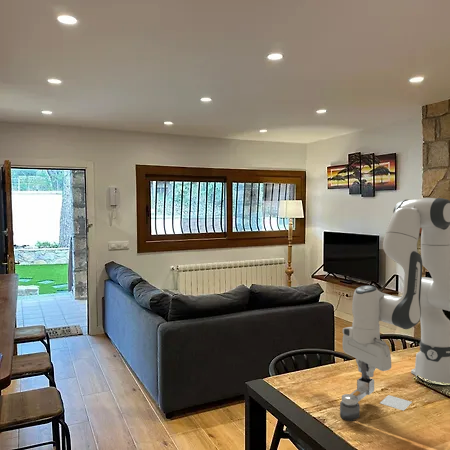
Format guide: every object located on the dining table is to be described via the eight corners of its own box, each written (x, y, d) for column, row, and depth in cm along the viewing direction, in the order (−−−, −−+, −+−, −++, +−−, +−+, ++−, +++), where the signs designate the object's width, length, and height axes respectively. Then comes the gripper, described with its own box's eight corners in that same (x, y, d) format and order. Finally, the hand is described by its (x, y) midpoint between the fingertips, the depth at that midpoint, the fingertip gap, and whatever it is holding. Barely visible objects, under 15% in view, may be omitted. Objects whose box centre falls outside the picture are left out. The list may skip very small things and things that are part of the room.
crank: (353, 409, 129) (353, 396, 129) (338, 404, 132) (338, 391, 132) (375, 391, 141) (375, 379, 141) (361, 387, 144) (361, 375, 144)
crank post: (345, 410, 137) (345, 398, 137) (362, 416, 133) (362, 403, 133) (336, 416, 132) (336, 404, 132) (354, 423, 128) (354, 410, 128)
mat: (388, 396, 146) (388, 395, 146) (412, 403, 141) (412, 401, 141) (379, 404, 140) (379, 403, 140) (403, 412, 135) (403, 410, 135)
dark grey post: (363, 384, 143) (363, 356, 143) (370, 386, 141) (370, 357, 141) (360, 387, 141) (360, 358, 141) (367, 389, 139) (367, 360, 139)
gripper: (396, 341, 132) (396, 384, 133) (353, 325, 151) (353, 362, 151) (380, 344, 130) (380, 387, 130) (339, 327, 148) (339, 365, 149)
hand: (365, 374), depth 141 cm, fingers closed on dark grey post, 3 cm apart
